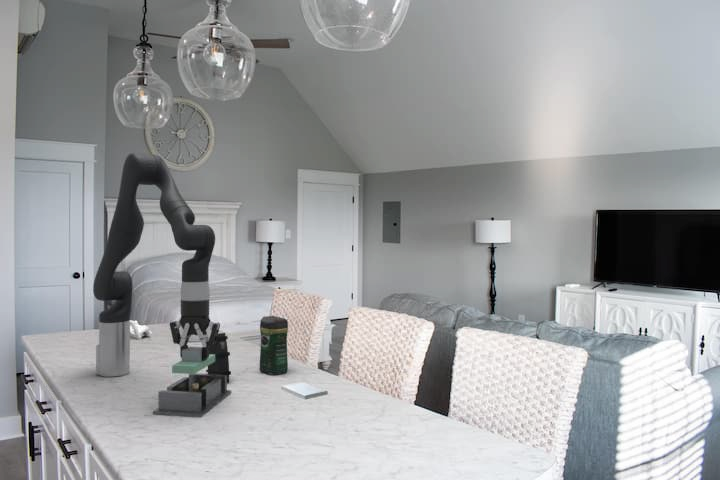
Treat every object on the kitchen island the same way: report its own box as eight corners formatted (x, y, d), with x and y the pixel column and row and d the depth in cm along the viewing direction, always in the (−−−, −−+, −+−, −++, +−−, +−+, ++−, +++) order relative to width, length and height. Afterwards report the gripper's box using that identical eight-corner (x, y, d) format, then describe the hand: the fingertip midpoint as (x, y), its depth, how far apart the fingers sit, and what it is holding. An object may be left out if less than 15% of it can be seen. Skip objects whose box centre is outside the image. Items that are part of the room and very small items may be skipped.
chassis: (200, 417, 141) (201, 395, 141) (152, 414, 143) (152, 392, 143) (231, 393, 162) (231, 374, 162) (189, 390, 163) (189, 372, 163)
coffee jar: (291, 372, 185) (292, 317, 185) (271, 376, 180) (272, 319, 180) (275, 367, 192) (275, 313, 192) (255, 370, 187) (256, 315, 187)
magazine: (223, 381, 167) (215, 333, 172) (208, 390, 177) (201, 345, 182) (234, 379, 170) (226, 332, 175) (219, 388, 179) (212, 343, 184)
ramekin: (187, 336, 245) (188, 320, 245) (216, 337, 243) (216, 321, 243) (173, 342, 232) (173, 325, 232) (203, 343, 230) (204, 326, 230)
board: (193, 374, 145) (193, 355, 144) (172, 373, 145) (172, 354, 145) (215, 361, 158) (215, 344, 158) (195, 360, 159) (195, 343, 159)
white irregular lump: (128, 339, 245) (119, 318, 241) (141, 332, 249) (132, 311, 245) (142, 343, 237) (132, 322, 233) (154, 335, 241) (145, 314, 237)
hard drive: (327, 390, 162) (303, 380, 172) (304, 395, 157) (281, 385, 166) (327, 396, 162) (303, 386, 172) (304, 401, 157) (280, 390, 166)
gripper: (163, 298, 149) (163, 361, 149) (214, 300, 147) (214, 364, 147) (176, 295, 156) (176, 355, 157) (225, 296, 154) (225, 357, 155)
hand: (194, 359), depth 152 cm, fingers closed on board, 5 cm apart
